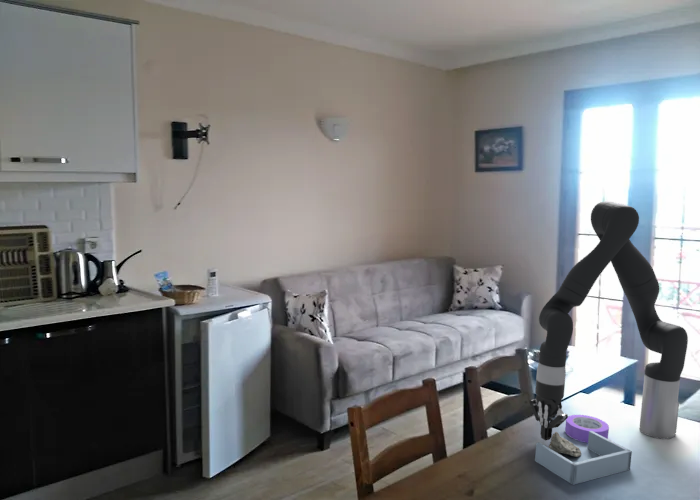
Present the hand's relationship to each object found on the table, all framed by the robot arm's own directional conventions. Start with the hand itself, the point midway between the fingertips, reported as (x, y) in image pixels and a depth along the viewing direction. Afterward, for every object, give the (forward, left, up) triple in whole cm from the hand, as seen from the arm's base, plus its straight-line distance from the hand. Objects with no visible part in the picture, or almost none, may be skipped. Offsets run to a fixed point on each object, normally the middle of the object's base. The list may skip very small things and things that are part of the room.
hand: (545, 438), depth 165 cm
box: (0, +13, -2) cm, 13 cm away
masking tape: (-16, 0, -2) cm, 16 cm away
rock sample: (-2, +6, -2) cm, 6 cm away
